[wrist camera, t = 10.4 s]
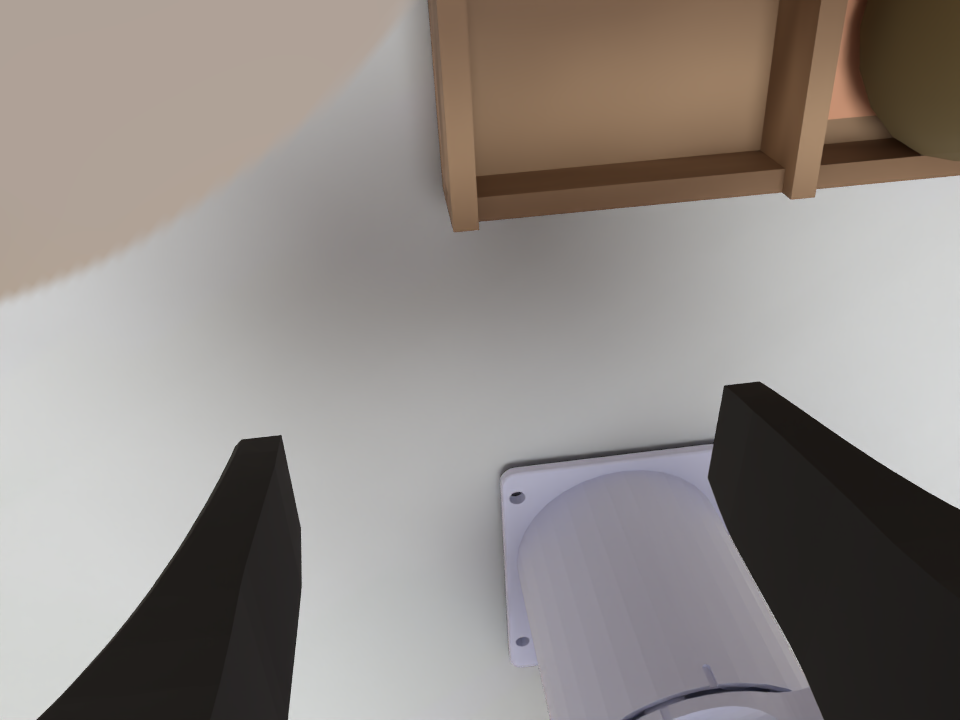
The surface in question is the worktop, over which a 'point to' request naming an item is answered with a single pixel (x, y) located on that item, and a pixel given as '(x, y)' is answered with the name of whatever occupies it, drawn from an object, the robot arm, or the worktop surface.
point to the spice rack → (653, 104)
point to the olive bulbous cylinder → (914, 72)
